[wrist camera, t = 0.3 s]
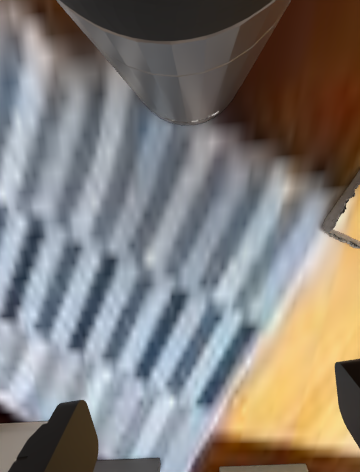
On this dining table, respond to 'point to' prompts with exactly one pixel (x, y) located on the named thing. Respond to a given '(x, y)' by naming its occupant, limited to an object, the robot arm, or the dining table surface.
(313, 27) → the dining table surface
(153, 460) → the hinge cabinet
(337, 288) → the dining table surface
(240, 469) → the door panel
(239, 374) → the dining table surface
